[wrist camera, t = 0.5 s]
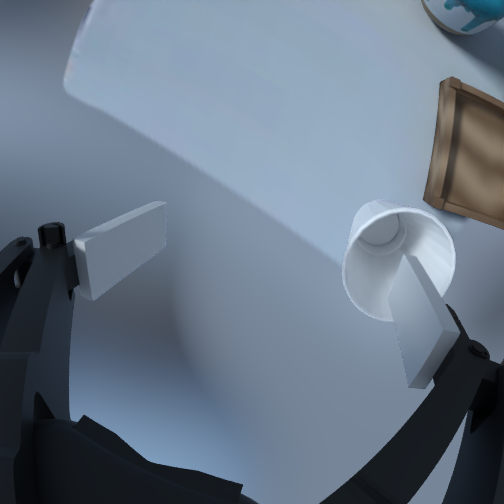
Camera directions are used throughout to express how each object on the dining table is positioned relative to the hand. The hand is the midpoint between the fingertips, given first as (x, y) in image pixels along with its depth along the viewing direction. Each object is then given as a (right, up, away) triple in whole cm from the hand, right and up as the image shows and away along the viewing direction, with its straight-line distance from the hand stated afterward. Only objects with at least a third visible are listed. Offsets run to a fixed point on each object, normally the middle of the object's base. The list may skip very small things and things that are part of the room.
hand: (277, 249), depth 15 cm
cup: (+17, +4, +24) cm, 29 cm away
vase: (+27, +35, +8) cm, 46 cm away
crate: (+32, +14, +15) cm, 38 cm away
